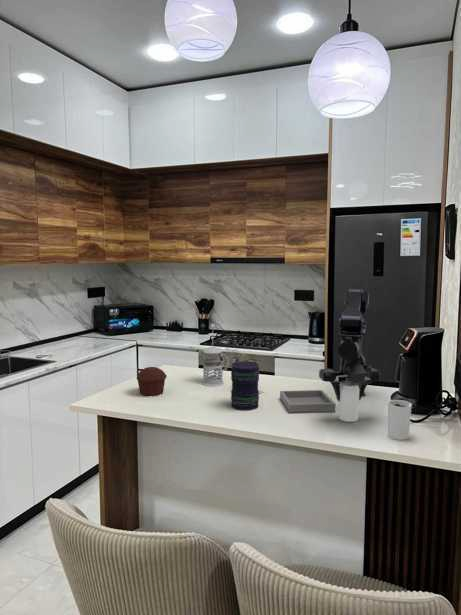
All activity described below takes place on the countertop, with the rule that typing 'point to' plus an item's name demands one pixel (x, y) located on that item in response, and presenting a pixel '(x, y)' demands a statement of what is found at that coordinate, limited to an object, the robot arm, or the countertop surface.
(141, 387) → the muffin
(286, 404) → the tray
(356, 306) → the robot arm
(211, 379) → the french press
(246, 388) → the storage jar
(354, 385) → the can
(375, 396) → the countertop surface
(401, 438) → the white cylindrical container
